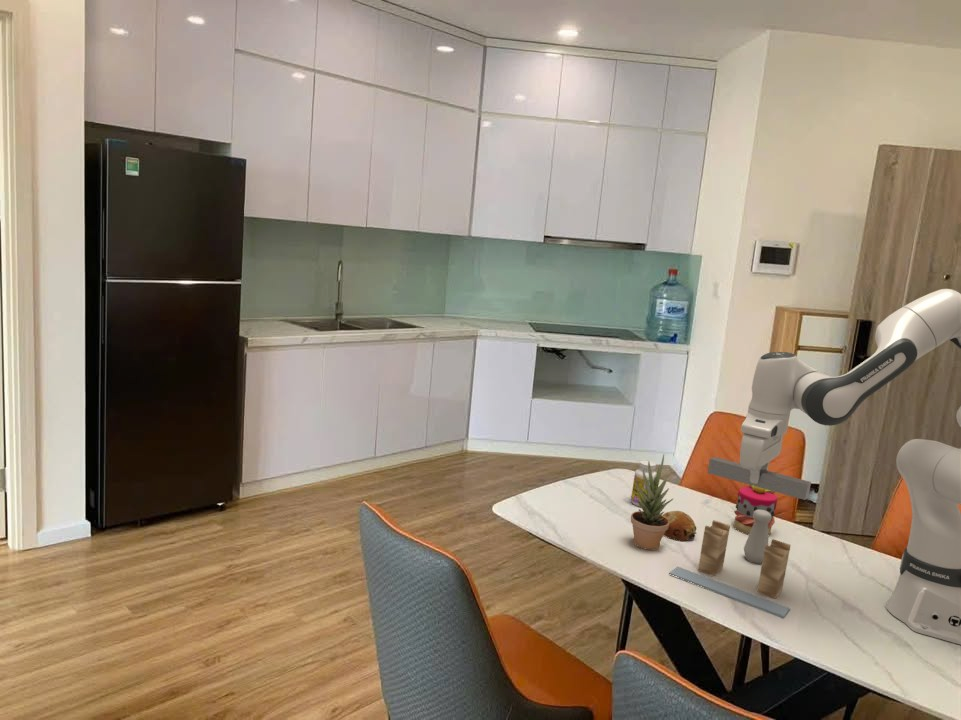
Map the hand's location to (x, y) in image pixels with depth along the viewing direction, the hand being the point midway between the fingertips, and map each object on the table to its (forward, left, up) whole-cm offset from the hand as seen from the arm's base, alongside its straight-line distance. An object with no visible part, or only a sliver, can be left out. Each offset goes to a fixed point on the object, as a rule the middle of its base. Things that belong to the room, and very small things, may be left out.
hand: (757, 480), depth 166 cm
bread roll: (+22, -15, -25) cm, 36 cm away
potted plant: (+24, -1, -25) cm, 35 cm away
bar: (0, 0, -1) cm, 1 cm away
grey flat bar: (0, +9, -25) cm, 26 cm away
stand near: (-7, 0, -25) cm, 26 cm away
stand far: (+7, 0, -25) cm, 26 cm away
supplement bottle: (+38, -28, -25) cm, 53 cm away
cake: (+8, -36, -25) cm, 45 cm away
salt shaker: (+1, -15, -25) cm, 29 cm away
